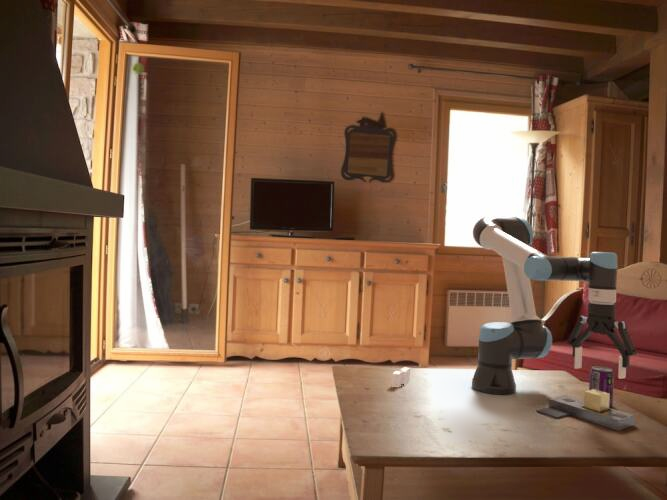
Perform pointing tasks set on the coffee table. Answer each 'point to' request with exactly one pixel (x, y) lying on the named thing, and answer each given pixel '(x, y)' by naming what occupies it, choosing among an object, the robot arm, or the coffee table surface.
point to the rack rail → (593, 413)
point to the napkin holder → (401, 377)
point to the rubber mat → (553, 412)
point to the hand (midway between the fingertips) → (599, 373)
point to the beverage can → (602, 381)
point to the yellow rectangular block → (596, 401)
